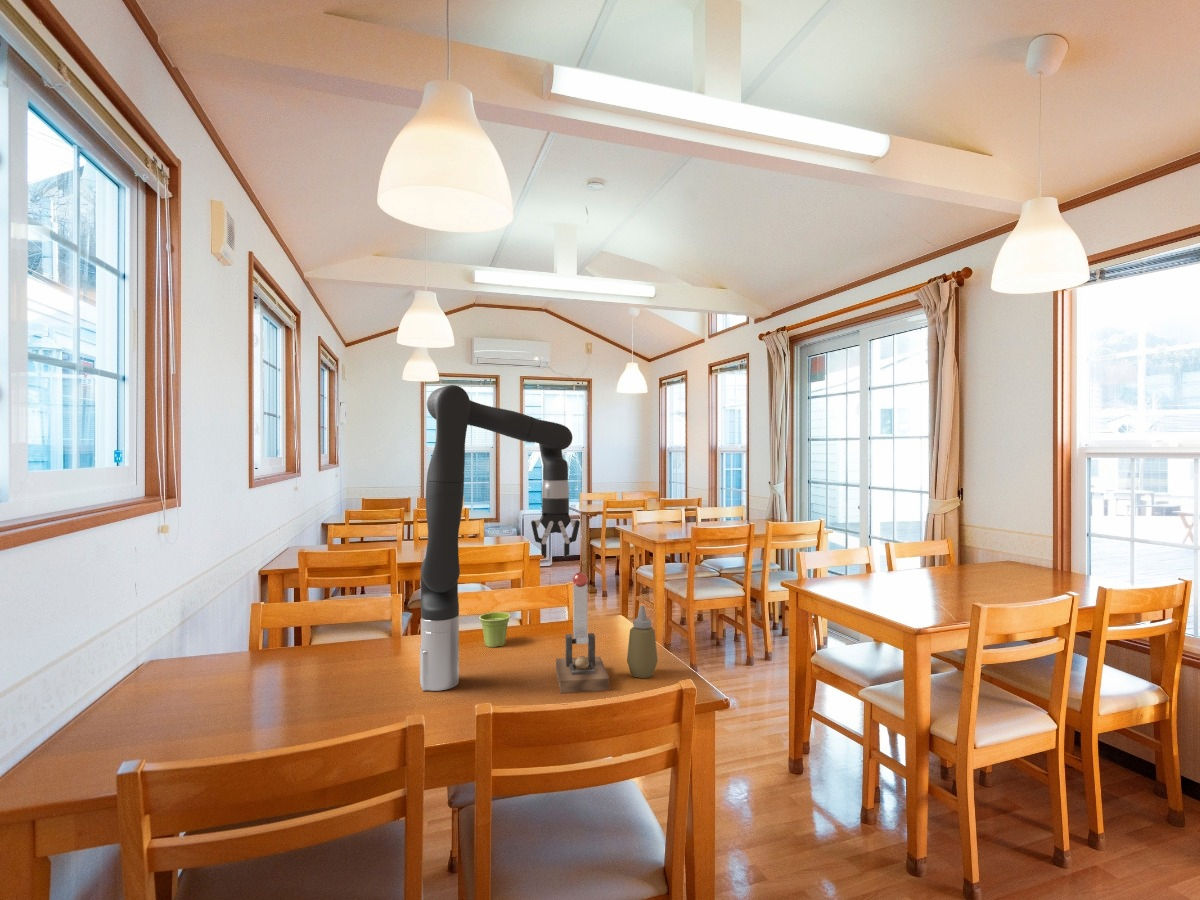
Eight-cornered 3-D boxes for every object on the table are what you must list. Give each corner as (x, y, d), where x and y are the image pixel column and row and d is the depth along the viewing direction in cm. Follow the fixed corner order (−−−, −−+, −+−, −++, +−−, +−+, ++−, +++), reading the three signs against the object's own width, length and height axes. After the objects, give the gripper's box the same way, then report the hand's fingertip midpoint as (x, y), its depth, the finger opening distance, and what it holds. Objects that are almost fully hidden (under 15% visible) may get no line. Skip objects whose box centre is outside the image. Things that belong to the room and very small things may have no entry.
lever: (574, 644, 153) (574, 576, 153) (571, 635, 160) (571, 571, 160) (590, 643, 153) (590, 576, 153) (586, 634, 161) (586, 570, 161)
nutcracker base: (560, 693, 147) (560, 649, 147) (556, 669, 162) (556, 630, 162) (609, 690, 148) (609, 647, 148) (600, 667, 164) (600, 628, 164)
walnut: (578, 673, 152) (578, 659, 152) (573, 668, 155) (573, 655, 155) (591, 671, 153) (591, 657, 153) (585, 666, 156) (585, 653, 156)
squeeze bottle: (658, 680, 155) (658, 610, 155) (627, 680, 155) (627, 610, 155) (656, 669, 163) (656, 602, 163) (626, 669, 163) (626, 602, 163)
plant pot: (473, 647, 181) (473, 618, 181) (488, 638, 190) (488, 611, 190) (501, 650, 178) (501, 621, 178) (515, 641, 187) (515, 613, 187)
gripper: (529, 497, 164) (529, 560, 164) (582, 497, 166) (582, 558, 166) (529, 495, 171) (529, 555, 171) (579, 495, 173) (579, 554, 173)
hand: (555, 556), depth 169 cm, fingers open, 5 cm apart
